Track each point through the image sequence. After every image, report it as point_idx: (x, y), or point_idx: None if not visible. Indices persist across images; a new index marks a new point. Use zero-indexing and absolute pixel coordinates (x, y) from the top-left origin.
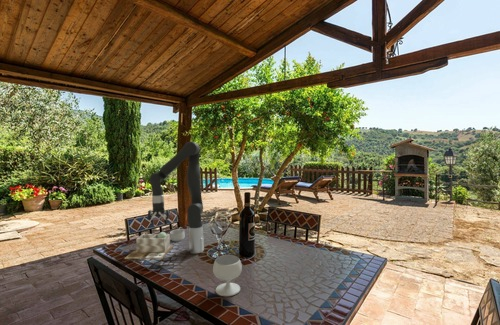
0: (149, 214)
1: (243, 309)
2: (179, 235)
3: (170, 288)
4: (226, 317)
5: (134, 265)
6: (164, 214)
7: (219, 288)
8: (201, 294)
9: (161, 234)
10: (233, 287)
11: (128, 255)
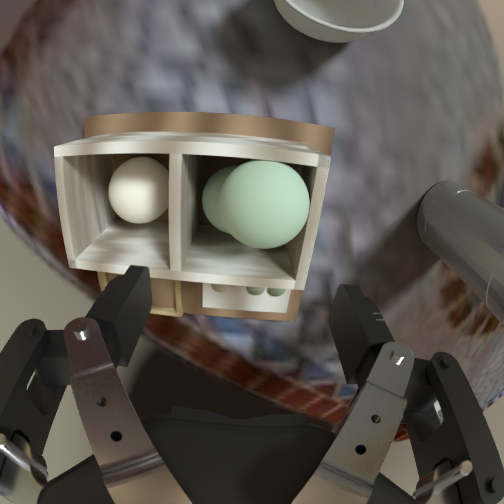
0: (39, 444)
1: None
2: (367, 34)
3: (336, 421)
4: (401, 439)
5: (179, 335)
6: (387, 430)
7: None
8: None
9: (267, 245)
10: (439, 408)
11: (105, 283)
